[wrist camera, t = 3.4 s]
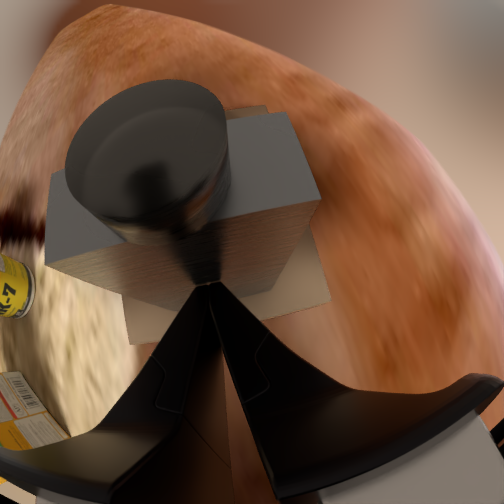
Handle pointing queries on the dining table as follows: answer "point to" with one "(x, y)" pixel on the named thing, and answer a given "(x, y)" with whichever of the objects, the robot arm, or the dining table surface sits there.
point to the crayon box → (24, 417)
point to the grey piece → (178, 196)
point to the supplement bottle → (15, 288)
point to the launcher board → (261, 305)
